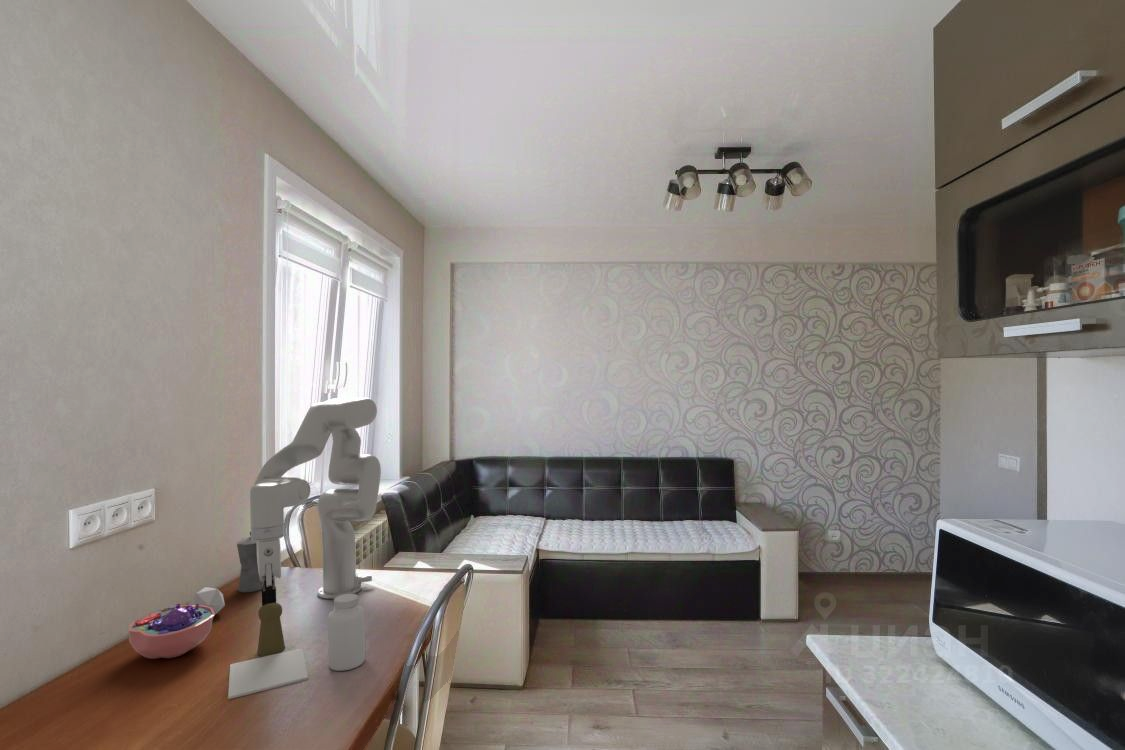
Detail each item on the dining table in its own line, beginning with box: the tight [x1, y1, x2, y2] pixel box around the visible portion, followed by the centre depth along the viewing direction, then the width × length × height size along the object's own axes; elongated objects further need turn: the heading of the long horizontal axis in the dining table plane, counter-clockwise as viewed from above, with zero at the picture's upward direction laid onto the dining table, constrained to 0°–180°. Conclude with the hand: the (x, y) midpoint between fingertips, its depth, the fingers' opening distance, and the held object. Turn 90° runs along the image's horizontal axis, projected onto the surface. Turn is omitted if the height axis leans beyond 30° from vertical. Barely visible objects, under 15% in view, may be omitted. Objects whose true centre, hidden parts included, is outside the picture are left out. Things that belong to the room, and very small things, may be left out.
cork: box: [256, 602, 286, 657], centre depth 139 cm, size 6×6×11 cm
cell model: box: [128, 603, 216, 659], centre depth 139 cm, size 17×20×11 cm
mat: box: [227, 647, 309, 700], centre depth 128 cm, size 15×16×1 cm
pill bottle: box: [327, 593, 366, 672], centre depth 131 cm, size 8×8×15 cm
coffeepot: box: [236, 531, 263, 593], centre depth 183 cm, size 15×9×18 cm, turn 51°
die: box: [188, 586, 226, 615], centre depth 161 cm, size 8×9×10 cm
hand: (269, 604), depth 145 cm, fingers closed
